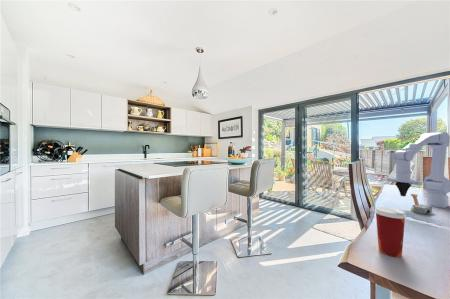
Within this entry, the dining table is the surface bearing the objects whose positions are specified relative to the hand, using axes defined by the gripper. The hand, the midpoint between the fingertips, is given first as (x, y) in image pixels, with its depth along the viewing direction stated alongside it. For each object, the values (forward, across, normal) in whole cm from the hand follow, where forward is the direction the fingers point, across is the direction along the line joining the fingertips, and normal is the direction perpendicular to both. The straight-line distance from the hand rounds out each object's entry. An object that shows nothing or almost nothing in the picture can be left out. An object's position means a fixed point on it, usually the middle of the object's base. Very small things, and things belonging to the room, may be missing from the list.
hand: (403, 196), depth 101 cm
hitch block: (+8, +8, 0) cm, 11 cm away
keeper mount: (+8, +2, +9) cm, 12 cm away
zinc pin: (+8, +8, 0) cm, 11 cm away
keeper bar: (+4, +3, +7) cm, 8 cm away
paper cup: (+8, +21, -58) cm, 62 cm away
